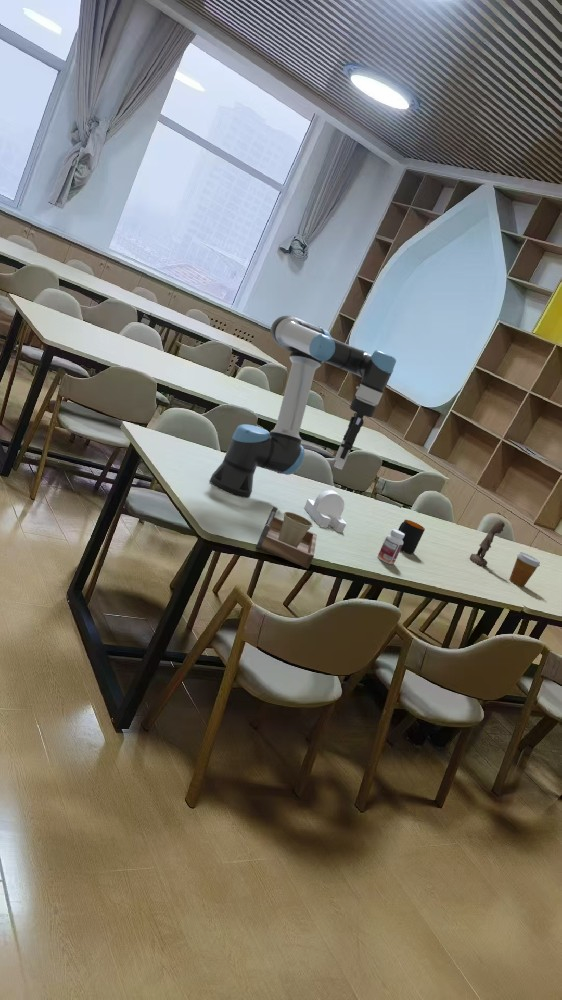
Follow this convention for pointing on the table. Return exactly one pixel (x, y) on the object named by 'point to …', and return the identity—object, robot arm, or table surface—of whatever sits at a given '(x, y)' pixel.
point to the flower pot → (293, 529)
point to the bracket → (327, 510)
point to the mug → (410, 535)
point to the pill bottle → (391, 547)
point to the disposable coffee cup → (523, 569)
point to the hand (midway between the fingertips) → (337, 464)
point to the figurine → (487, 544)
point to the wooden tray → (273, 545)
